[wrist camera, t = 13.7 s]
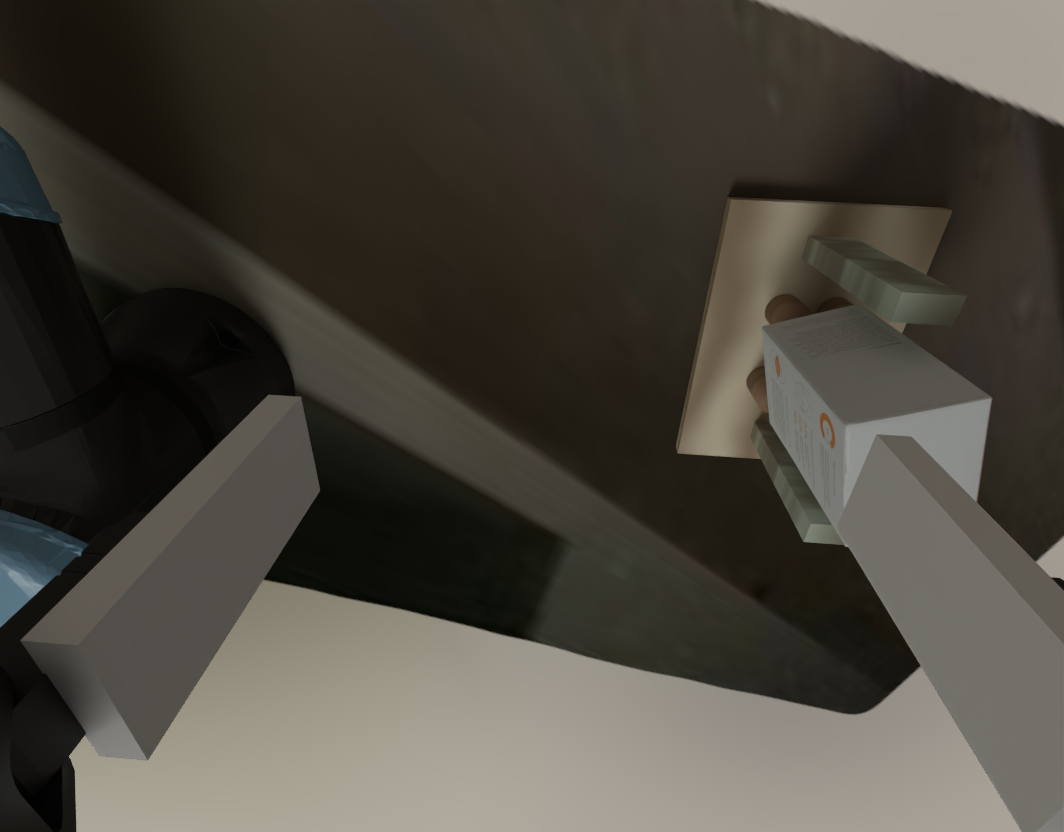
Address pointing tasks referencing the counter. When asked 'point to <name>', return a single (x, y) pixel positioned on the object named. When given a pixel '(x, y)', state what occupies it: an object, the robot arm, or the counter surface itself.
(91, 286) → the counter surface
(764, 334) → the small box
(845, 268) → the peg stand
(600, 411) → the counter surface
